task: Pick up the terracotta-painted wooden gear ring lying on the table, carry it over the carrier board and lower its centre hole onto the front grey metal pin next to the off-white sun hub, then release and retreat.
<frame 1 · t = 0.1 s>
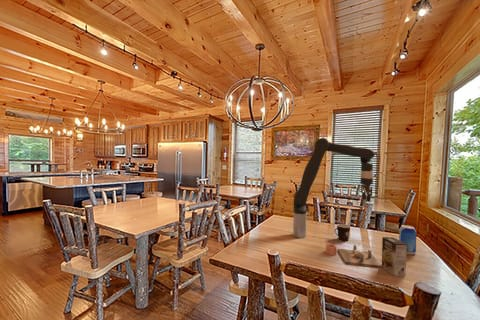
hand: (366, 200, 151), 29 cm above the table, fingers open, 8 cm apart
carrier: (358, 258, 124), on the table
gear: (331, 252, 131), on the table
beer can: (407, 252, 135), on the table
coffee box: (393, 271, 111), on the table
coffee mug: (341, 239, 154), on the table
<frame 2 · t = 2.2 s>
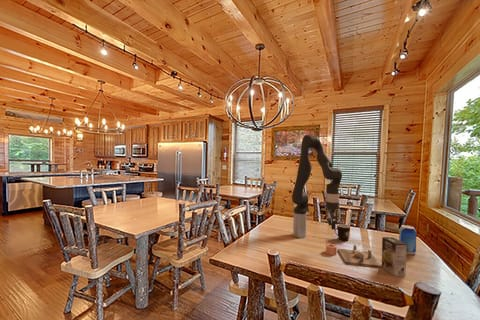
hand: (331, 227, 131), 16 cm above the table, fingers open, 8 cm apart
nothing on the table moved.
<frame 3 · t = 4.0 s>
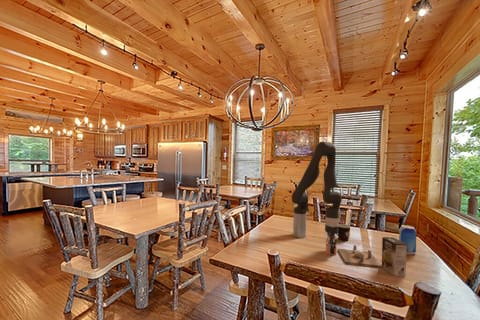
hand: (331, 251, 131), 1 cm above the table, fingers closed on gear, 5 cm apart
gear: (331, 252, 131), on the table, touching gripper
everything else where it was.
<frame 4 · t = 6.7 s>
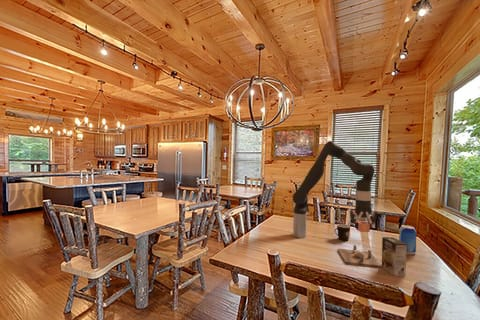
hand: (362, 229, 118), 19 cm above the table, fingers closed on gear, 5 cm apart
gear: (362, 230, 118), point 18 cm above the table, touching gripper
everything else where it was.
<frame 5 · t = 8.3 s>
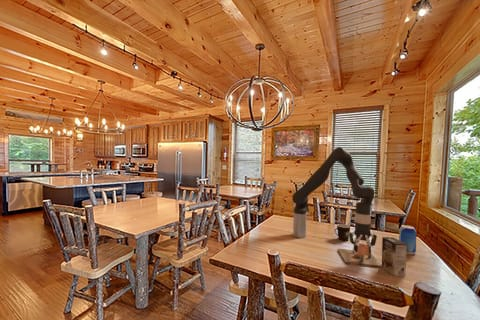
hand: (362, 251, 118), 6 cm above the table, fingers closed on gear, 5 cm apart
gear: (362, 253, 118), point 6 cm above the table, touching gripper
everything else where it was.
when the fingers open (3 cm above the table, at t = 9.4 s): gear drops 1 cm, resting on carrier.
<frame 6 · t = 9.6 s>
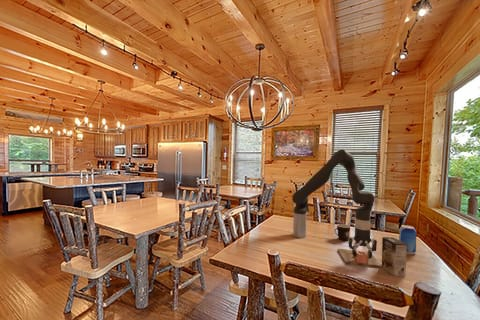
hand: (361, 257, 118), 3 cm above the table, fingers open, 7 cm apart
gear: (361, 261, 118), point 1 cm above the table, touching carrier
everything else where it was.
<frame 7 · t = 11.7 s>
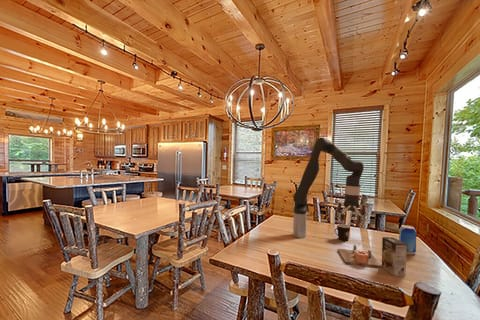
hand: (350, 221, 126), 21 cm above the table, fingers open, 8 cm apart
nothing on the table moved.
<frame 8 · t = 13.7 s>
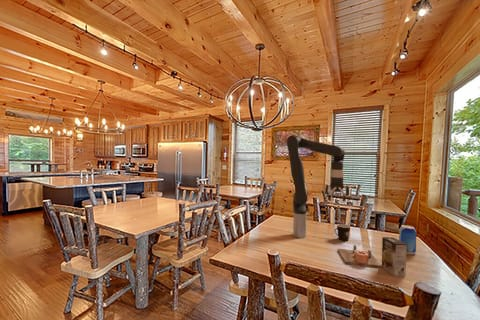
hand: (336, 201, 141), 30 cm above the table, fingers open, 8 cm apart
nothing on the table moved.
at the end: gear 0.0 cm from the target spot on the carrier, point 1.2 cm above the carrier's base; the gripper is holding nothing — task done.
